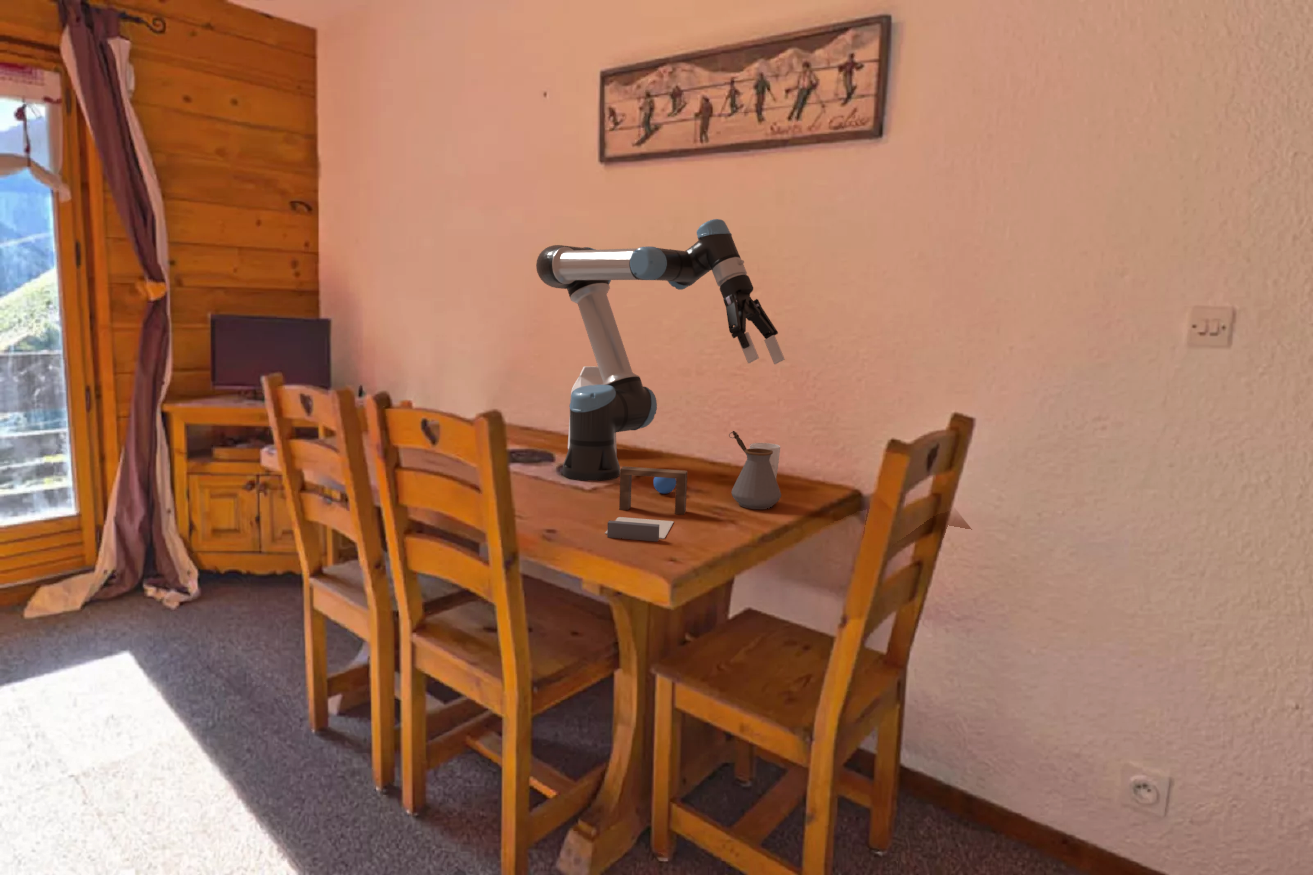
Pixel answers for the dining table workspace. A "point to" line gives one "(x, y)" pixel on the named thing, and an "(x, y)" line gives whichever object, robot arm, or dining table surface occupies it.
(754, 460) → the coffee pot
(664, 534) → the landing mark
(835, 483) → the dining table surface
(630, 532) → the stopper wall
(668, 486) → the ball
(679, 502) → the bridge
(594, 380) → the milk
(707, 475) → the dining table surface
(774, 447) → the white cup
